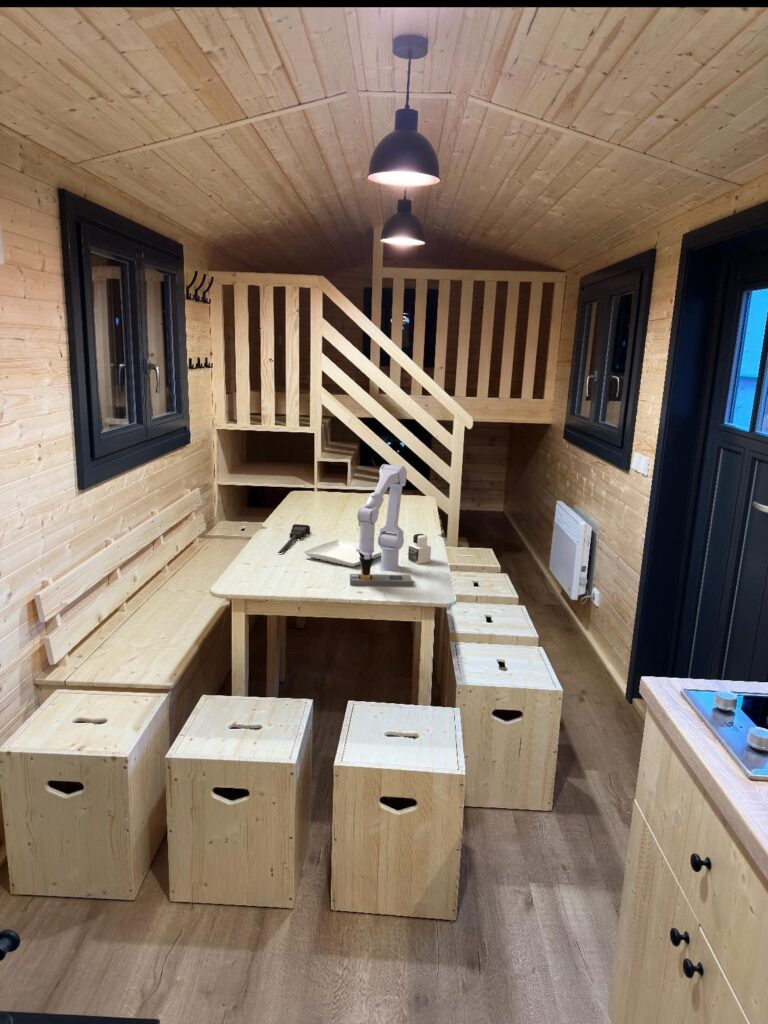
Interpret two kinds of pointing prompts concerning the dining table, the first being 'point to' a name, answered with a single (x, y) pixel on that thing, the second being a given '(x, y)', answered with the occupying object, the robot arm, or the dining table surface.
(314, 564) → the dining table surface
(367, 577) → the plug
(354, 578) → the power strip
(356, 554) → the square plate
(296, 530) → the electrical plug
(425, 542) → the medicine bottle
